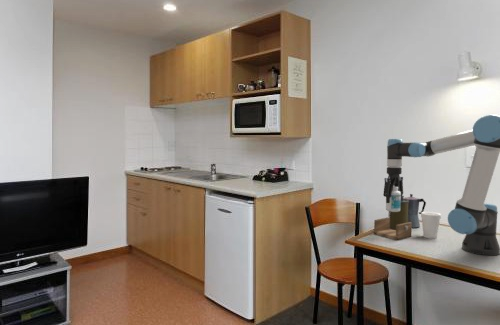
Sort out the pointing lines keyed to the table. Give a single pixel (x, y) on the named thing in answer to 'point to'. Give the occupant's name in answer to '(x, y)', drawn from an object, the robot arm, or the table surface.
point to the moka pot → (414, 210)
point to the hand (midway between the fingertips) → (393, 207)
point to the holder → (384, 230)
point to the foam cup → (430, 224)
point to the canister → (399, 215)
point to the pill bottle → (395, 200)
